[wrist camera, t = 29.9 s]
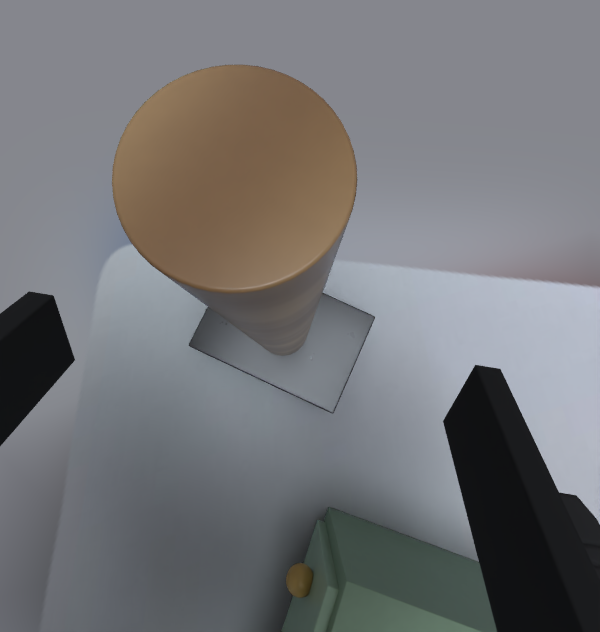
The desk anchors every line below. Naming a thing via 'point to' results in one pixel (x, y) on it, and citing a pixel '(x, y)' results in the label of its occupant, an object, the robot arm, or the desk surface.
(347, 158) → the brush
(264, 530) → the desk surface
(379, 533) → the cabinet
